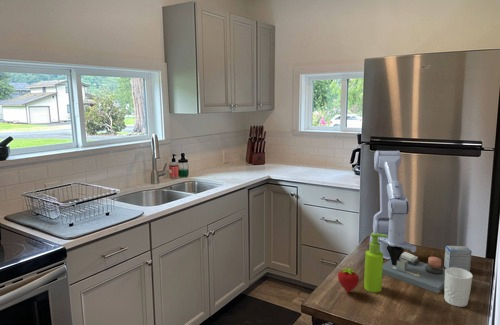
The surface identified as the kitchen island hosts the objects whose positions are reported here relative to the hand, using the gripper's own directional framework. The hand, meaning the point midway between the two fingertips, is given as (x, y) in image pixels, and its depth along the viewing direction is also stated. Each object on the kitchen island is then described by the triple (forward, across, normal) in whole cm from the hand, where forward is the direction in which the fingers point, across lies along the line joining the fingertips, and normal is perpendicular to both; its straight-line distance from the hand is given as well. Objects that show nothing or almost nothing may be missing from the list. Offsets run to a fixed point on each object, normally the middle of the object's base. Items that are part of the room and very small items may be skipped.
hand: (394, 264), depth 143 cm
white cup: (+4, +23, -5) cm, 24 cm away
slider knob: (+1, +3, 0) cm, 3 cm away
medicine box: (+4, +15, +20) cm, 26 cm away
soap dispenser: (+4, 0, -16) cm, 16 cm away
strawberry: (+4, -4, -25) cm, 26 cm away
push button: (-1, +11, +8) cm, 14 cm away
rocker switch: (+1, +1, +9) cm, 9 cm away
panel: (+3, +6, +4) cm, 8 cm away
